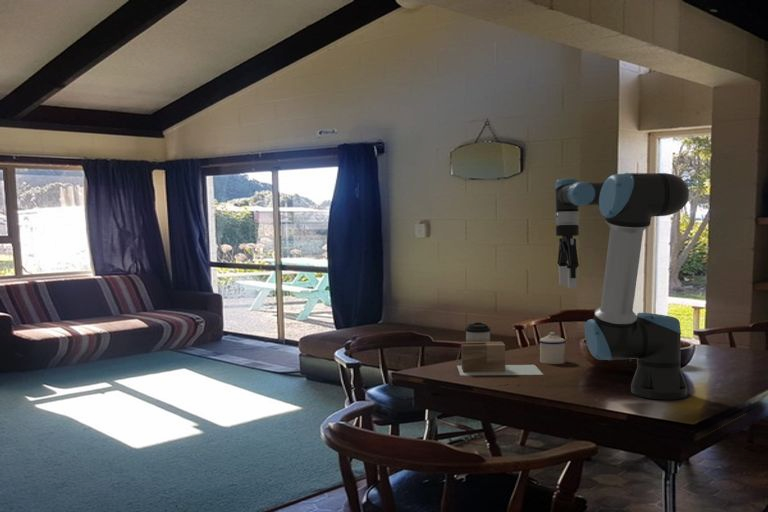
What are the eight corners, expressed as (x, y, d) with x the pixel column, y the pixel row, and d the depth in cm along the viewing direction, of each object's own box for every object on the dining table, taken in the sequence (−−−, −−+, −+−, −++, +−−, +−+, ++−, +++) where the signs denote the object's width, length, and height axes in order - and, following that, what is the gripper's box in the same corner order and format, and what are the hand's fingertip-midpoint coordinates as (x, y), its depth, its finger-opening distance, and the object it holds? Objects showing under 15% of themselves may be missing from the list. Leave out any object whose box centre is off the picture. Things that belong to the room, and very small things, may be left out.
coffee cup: (490, 368, 237) (489, 325, 236) (464, 367, 238) (464, 325, 238) (491, 363, 245) (491, 322, 245) (466, 362, 247) (466, 322, 247)
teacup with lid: (570, 366, 237) (570, 333, 236) (546, 368, 235) (545, 334, 235) (555, 360, 249) (554, 329, 248) (532, 361, 247) (531, 330, 246)
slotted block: (505, 372, 224) (505, 345, 224) (463, 372, 225) (462, 345, 224) (502, 367, 231) (502, 341, 231) (461, 368, 232) (461, 342, 231)
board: (543, 378, 219) (543, 360, 219) (460, 378, 220) (460, 361, 220) (534, 368, 235) (534, 352, 235) (457, 368, 236) (456, 352, 236)
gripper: (548, 224, 243) (549, 283, 243) (564, 224, 218) (564, 289, 218) (569, 224, 242) (570, 283, 243) (587, 223, 217) (588, 289, 218)
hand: (567, 286), depth 231 cm, fingers open, 13 cm apart
